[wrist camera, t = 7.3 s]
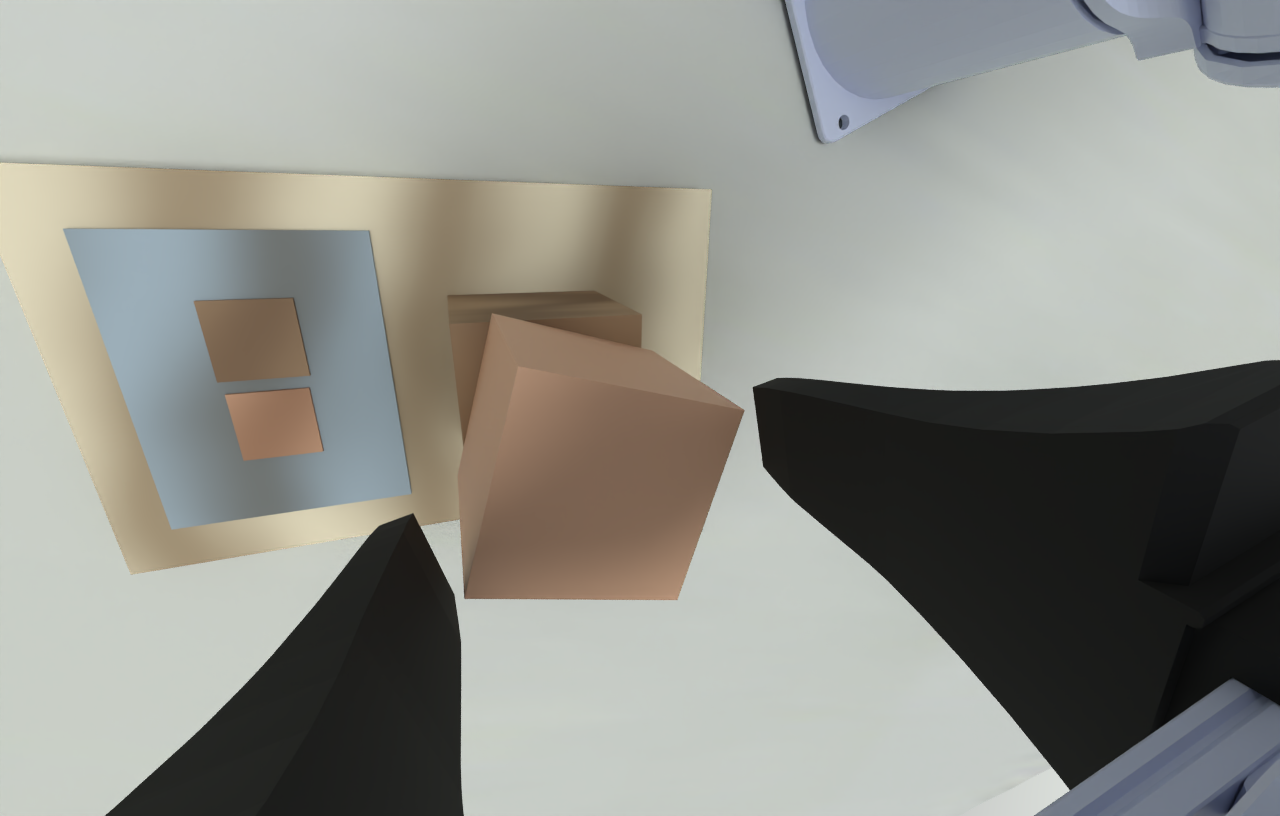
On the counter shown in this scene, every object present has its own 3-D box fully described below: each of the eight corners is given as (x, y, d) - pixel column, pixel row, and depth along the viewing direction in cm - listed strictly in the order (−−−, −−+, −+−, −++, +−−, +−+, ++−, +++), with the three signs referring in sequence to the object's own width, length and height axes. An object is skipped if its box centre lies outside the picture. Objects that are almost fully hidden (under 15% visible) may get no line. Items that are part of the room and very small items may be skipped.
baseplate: (699, 190, 19) (794, 181, 14) (685, 470, 24) (754, 543, 18) (-6, 165, 13) (-314, 130, 8) (147, 556, 17) (16, 707, 12)
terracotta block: (652, 350, 14) (744, 410, 10) (610, 491, 16) (677, 600, 11) (491, 313, 13) (518, 365, 8) (457, 475, 14) (464, 598, 9)
